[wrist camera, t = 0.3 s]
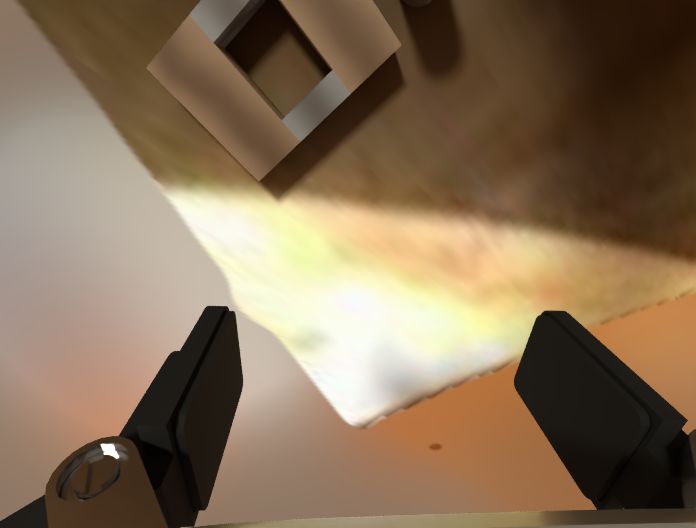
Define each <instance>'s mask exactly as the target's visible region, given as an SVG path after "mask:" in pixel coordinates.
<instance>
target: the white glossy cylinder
mask: <svg viewBox="0 0 696 528" xmlns="http://www.w3.org/2000/svg"><path fill="white" fill-rule="evenodd" d="M402 1H403V2H404V3H405V4H406V5H408V6H410V7H414V8H419V7H424V6H426V5H428V4H429V3H431V2H432V1H433V0H402Z"/></svg>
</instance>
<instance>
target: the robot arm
mask: <svg viewBox="0 0 696 528" xmlns="http://www.w3.org/2000/svg"><path fill="white" fill-rule="evenodd" d="M514 386H515V389H516V391H517V392H518V394H519V395H520V397H521V398H522V400H523V401H524V403H525V405H526V406H527V408H528V409H529V411H530V412H531V414H532V415H533V417H534V419H535V420H536V422H537V423H538V425H539V426H540V428H541V429H542V431H543V432H544V434H545V436H546V437H547V439H548V440H549V442H550V444H551V445H552V447H553V448H554V450H555V451H556V453H557V454H558V456H559V458H560V459H561V461H562V462H563V464H564V465H565V467H566V468H567V470H568V471H569V473H570V475H571V476H572V478H573V479H574V481H575V482H576V484H577V486H578V487H579V489H580V490H581V492H582V493H583V494H584V496H585V497H587V498H588V499H590V500H591V501H592V502H593V504H594V505H595V507H596V509H597V510H572V511H533V512H501V513H500V512H498V513H465V514H434V515H404V516H375V517H347V518H319V519H296V520H278V521H260V522H243V523H228V524H219V525H209V526H200V527H193V526H194V525H195V522H196V519H197V515H198V512H199V510H205V509H206V508H207V506H208V503H209V500H210V497H211V493H212V490H213V487H214V483H215V480H216V476H217V473H218V470H219V466H220V463H221V459H222V456H223V453H224V449H225V446H226V443H227V439H228V436H229V433H230V429H231V426H232V422H233V419H234V416H235V412H236V409H237V406H238V402H239V399H240V395H241V392H242V387H243V374H242V366H241V358H240V349H239V340H238V332H237V324H236V315H235V312H234V311H229V308H228V307H227V306H207V307H206V308H205V309H204V311H203V313H202V315H201V316H200V318H199V320H198V321H197V323H196V325H195V326H194V328H193V330H192V331H191V333H190V335H189V337H188V338H187V340H186V342H185V343H184V345H183V347H182V348H181V350H180V351H174V352H172V353H171V354H170V355H169V356H168V358H167V359H166V361H165V362H164V364H163V365H162V367H161V369H160V370H159V372H158V374H157V375H156V377H155V378H154V380H153V381H152V383H151V385H150V386H149V388H148V390H147V391H146V393H145V394H144V396H143V398H142V399H141V401H140V402H139V404H138V406H137V407H136V409H135V410H134V412H133V414H132V416H131V417H130V418H129V420H128V422H127V424H126V425H125V427H124V428H123V430H122V431H121V433H120V435H119V436H111V437H106V438H101V439H98V440H95V441H93V442H91V443H88V444H86V445H84V446H82V447H81V448H79V449H78V450H76V451H74V452H73V453H72V454H71V455H70V456H68V457H67V458H66V459H65V460H64V461H62V462H61V463H60V465H59V466H58V467H57V468H56V470H55V471H54V472H53V473H52V475H51V477H50V479H49V481H48V483H47V485H46V491H45V495H43V496H42V497H40V498H39V499H37V500H35V501H33V502H32V503H30V504H28V505H27V506H25V507H23V508H22V509H20V510H18V511H17V512H15V513H13V514H12V515H10V516H8V517H7V518H5V519H3V520H2V521H0V528H180V527H190V526H191V527H192V528H696V429H695V430H693V431H692V432H691V433H690V434H689V435H687V434H686V433H685V432H684V431H683V430H682V428H683V426H684V425H685V423H686V422H687V421H688V420H687V419H686V418H685V417H684V416H683V415H681V414H680V413H679V412H678V411H677V410H676V409H675V408H674V407H672V406H671V405H670V404H669V403H668V402H667V401H666V400H665V399H664V398H662V397H661V396H660V395H659V394H658V393H657V392H656V391H655V390H653V389H652V388H651V387H650V386H649V385H648V384H647V383H646V382H644V381H643V380H642V379H641V378H640V377H639V376H638V375H637V374H636V373H635V372H633V371H632V370H631V369H630V368H629V367H628V366H627V365H626V364H625V363H623V362H622V361H621V360H620V359H619V358H618V357H617V356H615V355H614V354H613V353H612V352H611V351H610V350H609V349H607V347H606V346H604V345H603V344H602V343H601V342H600V341H599V340H598V339H597V338H595V337H594V336H593V335H592V334H591V333H590V332H589V331H588V330H587V329H585V328H584V327H583V326H582V325H581V324H580V323H579V322H578V321H577V320H575V319H574V318H573V317H572V316H571V315H570V314H569V313H567V312H566V311H544V312H543V313H542V314H541V315H539V316H538V317H537V318H536V320H535V323H534V326H533V328H532V331H531V334H530V337H529V339H528V342H527V345H526V348H525V350H524V353H523V356H522V358H521V361H520V364H519V367H518V370H517V372H516V375H515V378H514ZM623 508H624V509H623Z"/></svg>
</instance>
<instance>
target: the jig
mask: <svg viewBox="0 0 696 528" xmlns="http://www.w3.org/2000/svg"><path fill="white" fill-rule="evenodd" d="M278 1H279V3H280V4H281V5H282V6H283V8H284V9H285V10H286V12H287V13H288V14H289V16H290V17H291V18H292V20H293V21H294V22H295V24H296V25H297V26H298V28H299V29H300V30H301V32H302V33H303V34H304V35H305V37H306V38H307V39H308V41H309V42H310V43H311V45H312V46H313V47H314V49H315V50H316V51H317V53H318V54H319V55H320V57H321V58H322V59H323V61H324V62H325V63H326V65H327V66H328V67H329V68H330V70H331V72H330V73H329V74H328V75H327V76H326V77H325V78H324V79H323V80H322V81H321V82H320V83H319V84H318V85H317V86H316V87H315V88H314V89H313V90H312V91H311V92H310V93H309V94H308V95H307V96H306V97H305V98H304V99H303V100H302V101H301V102H300V103H299V104H298V105H297V106H296V107H295V108H294V109H293V110H292V111H291V112H290V113H289V114H288V115H287V116H286V117H284V116H283V115H282V113H281V112H280V111H279V110H278V109H277V108H276V107H275V105H274V104H273V103H272V102H271V101H270V100H269V98H268V97H267V96H266V95H265V94H264V93H263V92H262V90H261V89H260V88H259V87H258V86H257V85H256V83H255V82H254V81H253V80H252V79H251V78H250V77H249V75H248V74H247V73H246V72H245V71H244V70H243V69H242V67H241V66H240V65H239V64H238V63H237V62H236V60H235V59H234V58H233V57H232V56H231V55H230V54H229V52H228V51H227V50H226V49H225V47H226V46H227V45H228V44H229V43H230V42H231V41H232V39H233V38H234V37H235V36H236V35H237V34H238V33H239V31H240V30H241V29H242V28H243V27H244V26H245V25H246V23H247V22H248V21H249V20H250V19H251V18H252V16H253V15H254V14H255V13H256V12H257V11H258V10H259V8H260V7H261V6H262V5H263V4H264V3H265V2H266V0H201V1H200V2H199V3H198V5H197V6H196V7H195V8H194V9H193V11H192V12H191V13H190V14H189V16H188V17H187V18H186V19H185V21H184V22H183V23H182V24H181V26H180V27H179V28H178V29H177V31H176V32H175V33H174V34H173V35H172V37H171V38H170V39H169V40H168V42H167V43H166V44H165V45H164V47H163V48H162V49H161V50H160V52H159V53H158V54H157V55H156V56H155V58H154V59H153V60H152V61H151V63H150V64H149V65H148V66H147V69H148V70H149V71H150V72H151V73H152V74H153V75H154V76H155V77H156V78H157V79H158V80H159V81H160V82H161V83H162V84H163V85H164V86H165V87H166V88H167V89H168V90H169V92H170V93H171V94H172V95H173V96H174V97H175V98H176V99H177V100H178V101H179V102H180V103H181V104H182V105H183V106H184V107H185V108H186V109H187V110H188V111H189V112H190V113H191V114H192V115H193V116H194V117H195V118H196V119H197V120H198V121H199V122H200V123H201V124H202V125H203V126H204V127H205V128H206V129H207V130H208V131H209V132H210V133H211V134H212V135H213V136H214V137H215V138H216V139H217V140H218V141H219V142H220V143H221V144H222V145H223V146H224V147H225V148H226V149H227V150H228V151H229V152H230V153H231V154H232V155H233V156H234V157H235V158H236V159H237V160H238V161H239V162H240V163H241V164H242V165H243V166H244V167H245V168H246V169H247V170H248V171H249V172H250V173H251V174H252V175H253V176H254V178H255V179H256V180H257V181H258V182H259V181H260V180H261V179H262V178H263V177H264V176H265V175H266V174H267V173H268V172H269V171H271V170H272V169H273V168H274V167H275V166H276V165H277V164H278V163H279V162H280V161H281V160H282V159H283V158H284V157H285V156H286V155H287V154H288V153H289V152H290V151H291V150H292V149H294V148H295V147H296V146H297V145H298V144H299V143H300V142H301V141H302V140H303V139H304V138H305V137H306V136H307V135H308V134H309V133H310V132H311V131H312V130H313V129H314V128H315V127H317V126H318V125H319V124H320V123H321V122H322V121H323V120H324V119H325V118H326V117H327V116H328V115H329V114H330V113H331V112H332V111H333V110H334V109H335V108H336V107H337V106H338V105H340V104H341V103H342V102H343V101H344V100H345V99H346V98H347V97H348V96H349V95H350V94H351V93H352V92H353V91H354V90H355V89H356V88H357V87H358V86H359V85H360V84H361V83H363V82H364V81H365V80H366V79H367V78H368V77H369V76H370V75H371V74H372V73H373V72H374V71H375V70H376V69H377V68H378V67H379V66H380V65H381V64H382V63H383V62H384V61H386V60H387V59H388V58H389V57H390V56H391V55H392V54H393V53H394V52H395V51H396V50H397V49H398V48H399V47H400V46H401V43H400V42H399V40H398V39H397V37H396V36H395V34H394V33H393V31H392V29H391V28H390V26H389V25H388V23H387V22H386V20H385V19H384V17H383V16H382V14H381V12H380V11H379V9H378V8H377V6H376V5H375V3H374V2H373V0H278Z"/></svg>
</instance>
